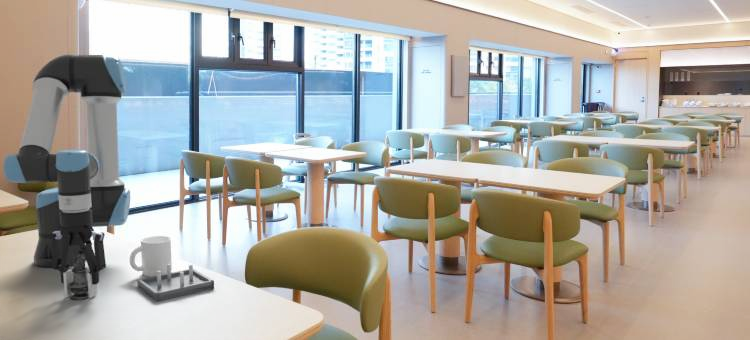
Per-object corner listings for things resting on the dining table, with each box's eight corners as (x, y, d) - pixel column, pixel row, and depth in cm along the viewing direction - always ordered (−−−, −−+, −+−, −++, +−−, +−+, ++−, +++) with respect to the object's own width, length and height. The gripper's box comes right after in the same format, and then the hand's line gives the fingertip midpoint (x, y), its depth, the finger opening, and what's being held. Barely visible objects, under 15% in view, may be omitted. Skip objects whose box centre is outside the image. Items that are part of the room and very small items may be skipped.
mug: (135, 282, 168) (134, 247, 166) (125, 275, 174) (123, 241, 172) (176, 273, 176) (175, 239, 174) (165, 266, 182) (163, 234, 180)
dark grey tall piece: (98, 294, 158) (95, 250, 156) (81, 301, 152) (78, 256, 150) (81, 291, 160) (78, 248, 158) (63, 298, 154) (60, 254, 152)
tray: (137, 287, 164) (136, 267, 163) (192, 275, 174) (192, 257, 173) (156, 301, 153) (155, 280, 152) (214, 288, 163) (213, 268, 163)
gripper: (31, 211, 149) (38, 299, 153) (103, 213, 148) (108, 301, 151) (49, 205, 157) (55, 289, 160) (118, 207, 156) (122, 291, 159)
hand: (81, 295), depth 156 cm, fingers closed on dark grey tall piece, 6 cm apart
